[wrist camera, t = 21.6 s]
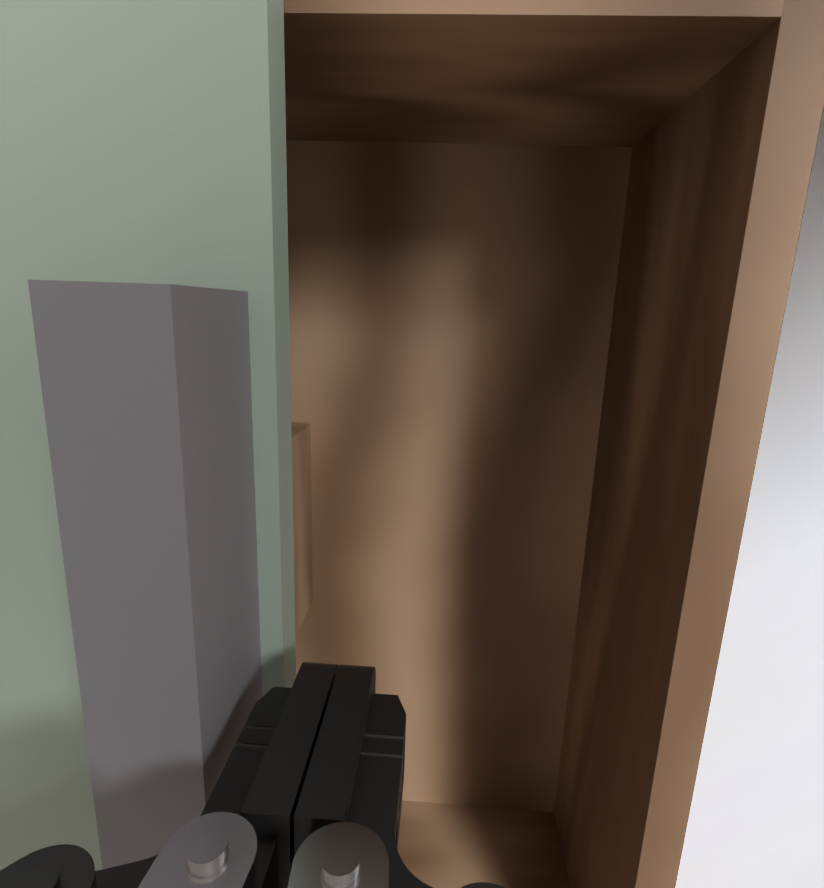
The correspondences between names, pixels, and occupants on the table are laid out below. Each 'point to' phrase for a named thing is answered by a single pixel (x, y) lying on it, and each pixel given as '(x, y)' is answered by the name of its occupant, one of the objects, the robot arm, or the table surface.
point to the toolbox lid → (139, 411)
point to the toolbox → (537, 394)
